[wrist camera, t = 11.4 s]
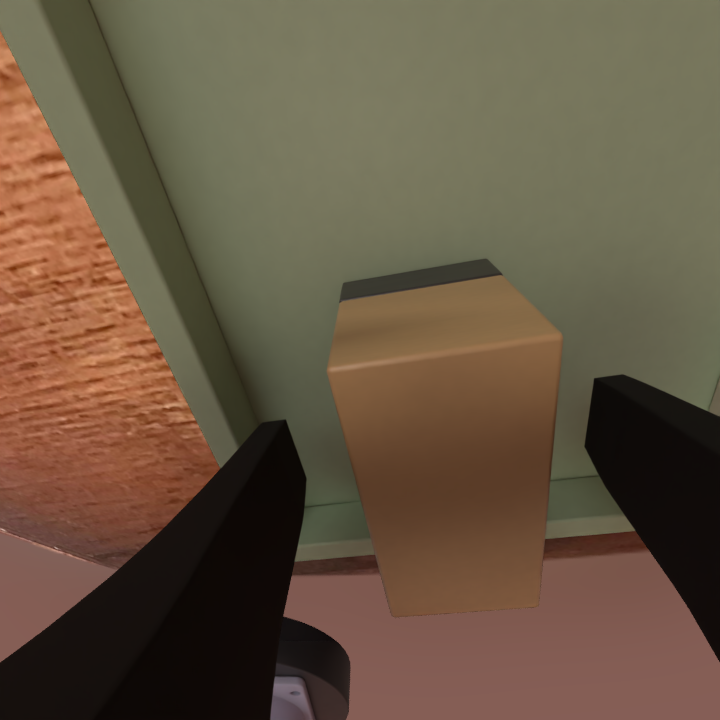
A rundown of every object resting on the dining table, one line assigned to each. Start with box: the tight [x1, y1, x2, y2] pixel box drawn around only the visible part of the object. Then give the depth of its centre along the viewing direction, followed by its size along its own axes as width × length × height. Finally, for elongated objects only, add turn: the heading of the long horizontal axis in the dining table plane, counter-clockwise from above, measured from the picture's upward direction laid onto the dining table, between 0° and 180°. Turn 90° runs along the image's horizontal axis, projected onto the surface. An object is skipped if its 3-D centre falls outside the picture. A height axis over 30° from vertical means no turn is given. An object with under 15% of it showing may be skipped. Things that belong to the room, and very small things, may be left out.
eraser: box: [326, 259, 563, 617], centre depth 9 cm, size 7×3×4 cm, turn 10°
